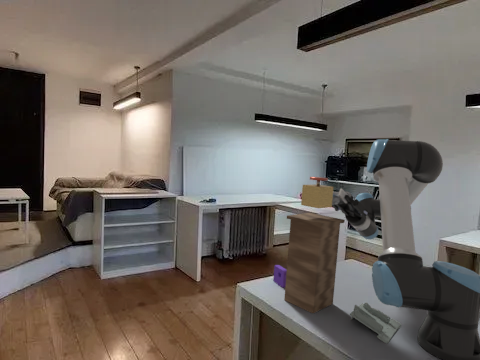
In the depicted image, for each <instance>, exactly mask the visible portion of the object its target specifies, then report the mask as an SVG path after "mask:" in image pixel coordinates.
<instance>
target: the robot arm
mask: <svg viewBox="0 0 480 360" xmlns="http://www.w3.org/2000/svg"><path fill="white" fill-rule="evenodd" d="M443 166H444V164H443V157H442V155H441V153H440V151H438V149H437V148H436V147H435V146H434V145H432V144H431V143H428V142H425V141H422V140H421V141H420V140H417V141H416V140H398V139H397V140H396V139H389V138H386V139H381V138H380V139H376V140H374V141H373V143H371V147H370V150H369V153H368V158H367V163H366V172H367V173H370V174H372V175H373V180H374V182H376V183H378V190H379V199H375V198H374V196H373V194H371V193H369V192H362V193H358V194H357V196H356V197H355V199H354V196H353V195H352V196H350V197H349V195H347V194H346V192H347V191H345V190H344V189H343V188H340V189H339V191H338V192H339V194H338V196H339V197H340V198H341V199H342V200H343V201H344V202H345V203H344V204H334V205H332V208H333V209H334V211H336V212H339V211H341V213H342V214H344V216H345V220H346V221H347V222H348V223H349V224H350V225H351V226H352V227H353V228H354V229H355V230H356V232H357V233H358V234H359V235H360V236H361V237H362V238H363V239H365V240H374V239H375V238H377V237H378V235H379V228H378V226H377V225H376V218H375V217H379V218H380V221H381V239H382V253H380V254H379V255H378V257H377V260H376V261H374V262H373V264H372V267H371V272H372V273H371V279H372V281H371V282H372V286H373V289H374V293H375V295H376V297H377V299H378V300H379V302H381V303H382V304H384V305H387V306H393V307H396V308H406V309H407V308H408V309H413V310H414V309H416V310H422V311H427V315H426V317H425V319H424V321H423V323H422V324H421V326H420V328H419V330H418V332H417V342H418V344H419V345H420V347H422V349H424V350H425V351H426V352H428V353H429V354H431V355H432V356H434V357H436V358H438V359H441V360H480V334H479V331H478V330H479V321H480V274H478V272H475V271H474V270H472V269H469V268H466V267H464V266H462V265H458V264H455V263H452V262H447V261H443V260H442V261H440V260H437V261H434V262H433V263H432V264H431V265H432V266H425V265H424V261H423V257H422V256H421V255H419V254H418V253H417V252H416V246H415V245H416V244H415V235H414V226H413V219H412V218H413V216H412V206H411V205H412V204H413V203H414V202H415V200H416V199H417V198H418V197H419V196H420V194H422V193H423V191H424V190H425V189H426V187H427V186H428V185H429V184H432V183H434V182H435V181H436V180H437V179H438V177H440V175H441V173H442V171H443ZM333 192H335V191H334V190H333ZM347 202H348V203H347Z"/></svg>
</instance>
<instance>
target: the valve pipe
mask: <svg viewBox="0 0 480 360" xmlns="http://www.w3.org/2000/svg"><path fill="white" fill-rule="evenodd" d="M309 180H311V181H316V184H302V189H301V190H302V191H301V202H300V205H301V206H304V207H309V208H316V209H324V208H325V209H326V208H333V206H332V205H334V204H344V203H345V202H344V201H343V200H342V199H341V198H340V197H339V196H338V194H339V191H334V186H330V185H324V184H323V185H322V184H321V181H324V182H328V180H329V178H328V177H322V176H321V177H320V176H309ZM333 191H334V192H333ZM345 192H346V194H347V195H349V197H350V196H353V195H352V193H351V192H349V191H345ZM347 204H348V202H347Z"/></svg>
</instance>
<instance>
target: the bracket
mask: <svg viewBox="0 0 480 360" xmlns="http://www.w3.org/2000/svg"><path fill="white" fill-rule="evenodd" d="M273 267H274V269H273V279H272V280H273V281H272V282H274V283H275V284H277V285H278V286H280V287H281V288H283V289H285V285H286V273H287V268H285V267H283V266H282V265H280V264H275V265H274V266H273Z"/></svg>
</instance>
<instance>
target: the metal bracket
mask: <svg viewBox="0 0 480 360" xmlns="http://www.w3.org/2000/svg"><path fill="white" fill-rule="evenodd" d="M349 316H351V318H350V321H352V320H353V319H355V320H356V321H358V322H359V323H361V324H362V325H364V326H366V327H367V328H368V329H371V330H372V332H375V333H376V334H378V335H377V336H376V338H377V339H379V340H380V341H381V342H383V343H385V344H386V345H387V344H389V343H390V342H391V340H392V338H393V336H394V335H395V334H396V332H397V331H398V330H399V329H401V327H402V324H401V322H399V321H397V320H396V319H395V318H391V316H389V315H387V314H386V313H384V312H383V311H381V310H379V309H377V308H374V307H372V306H371V305H370V304H369V303H368V302H364V303H363V302H362V303H360V304H359V305H357V304H354V307H353V311H351V313H349Z"/></svg>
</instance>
